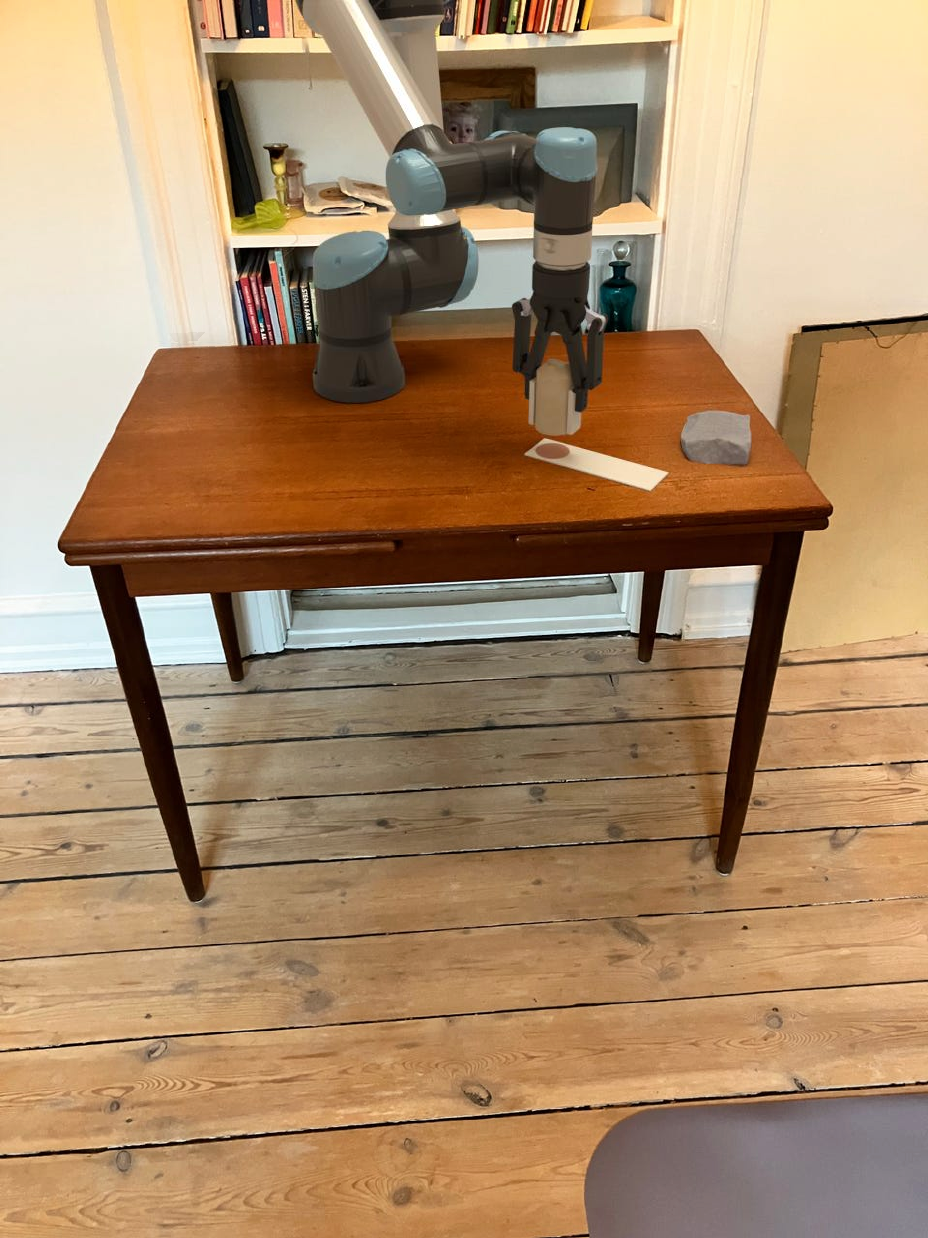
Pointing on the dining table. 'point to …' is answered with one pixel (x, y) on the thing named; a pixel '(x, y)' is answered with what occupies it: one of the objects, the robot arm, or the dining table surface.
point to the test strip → (597, 464)
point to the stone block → (717, 438)
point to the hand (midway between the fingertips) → (554, 425)
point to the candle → (552, 397)
